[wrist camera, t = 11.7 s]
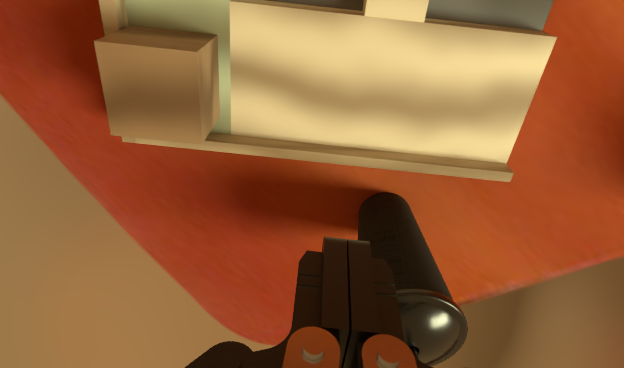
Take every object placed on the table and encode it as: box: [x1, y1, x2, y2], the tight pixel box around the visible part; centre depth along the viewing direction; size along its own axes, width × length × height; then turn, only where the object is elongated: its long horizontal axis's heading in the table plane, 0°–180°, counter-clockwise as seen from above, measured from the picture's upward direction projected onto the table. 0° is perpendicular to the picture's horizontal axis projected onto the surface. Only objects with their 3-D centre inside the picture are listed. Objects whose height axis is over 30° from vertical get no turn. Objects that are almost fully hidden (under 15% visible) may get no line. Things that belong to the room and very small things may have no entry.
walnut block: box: [94, 26, 220, 145], centre depth 27 cm, size 6×6×5 cm
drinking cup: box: [358, 193, 468, 367], centre depth 29 cm, size 8×8×20 cm
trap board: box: [99, 0, 557, 182], centre depth 28 cm, size 18×30×4 cm, turn 85°
